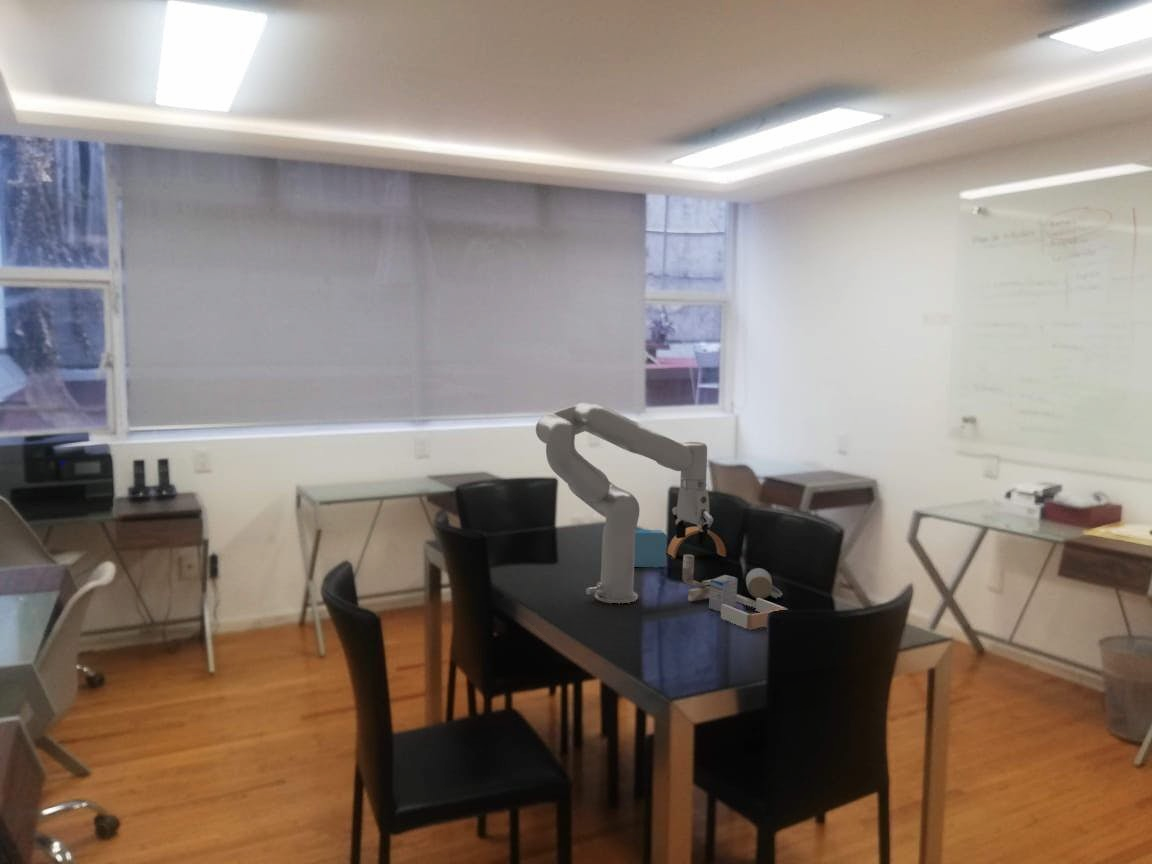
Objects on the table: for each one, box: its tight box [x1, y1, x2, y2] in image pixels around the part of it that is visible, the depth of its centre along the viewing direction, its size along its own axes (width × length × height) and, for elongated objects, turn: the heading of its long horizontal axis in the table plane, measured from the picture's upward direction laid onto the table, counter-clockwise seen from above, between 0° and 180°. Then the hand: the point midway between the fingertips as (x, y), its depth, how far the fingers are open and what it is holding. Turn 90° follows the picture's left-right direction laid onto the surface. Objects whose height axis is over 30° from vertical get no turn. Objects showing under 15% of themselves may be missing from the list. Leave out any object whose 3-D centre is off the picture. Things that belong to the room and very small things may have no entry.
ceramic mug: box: [745, 567, 783, 600], centre depth 261 cm, size 11×8×8 cm
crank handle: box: [681, 554, 712, 602], centre depth 259 cm, size 16×11×11 cm
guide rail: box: [736, 593, 756, 609], centre depth 255 cm, size 2×20×2 cm, turn 33°
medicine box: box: [708, 574, 738, 613], centre depth 248 cm, size 8×4×9 cm, turn 141°
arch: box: [666, 526, 727, 559], centre depth 308 cm, size 6×20×10 cm, turn 105°
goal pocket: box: [720, 598, 789, 629], centre depth 237 cm, size 14×11×4 cm
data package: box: [634, 529, 668, 568], centre depth 290 cm, size 12×4×12 cm, turn 97°
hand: (691, 541), depth 260 cm, fingers open, 9 cm apart
